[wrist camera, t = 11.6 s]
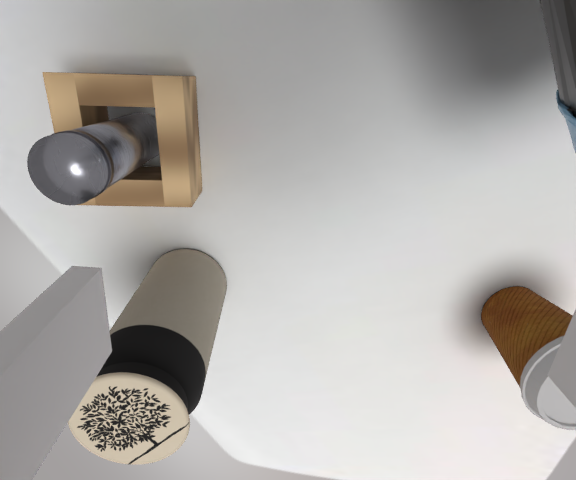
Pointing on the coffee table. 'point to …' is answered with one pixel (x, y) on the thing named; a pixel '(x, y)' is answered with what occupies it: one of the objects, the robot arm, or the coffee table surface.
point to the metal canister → (92, 157)
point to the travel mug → (154, 363)
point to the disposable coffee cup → (531, 348)
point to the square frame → (170, 128)
